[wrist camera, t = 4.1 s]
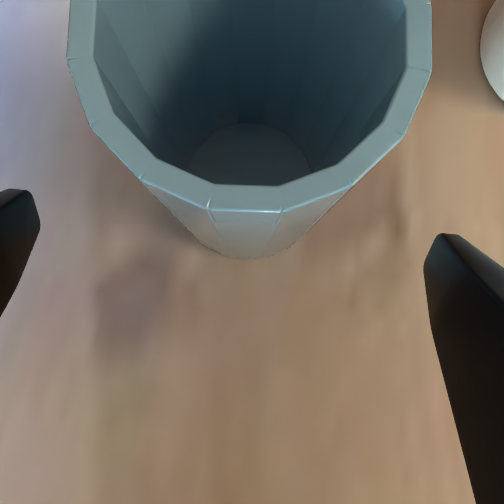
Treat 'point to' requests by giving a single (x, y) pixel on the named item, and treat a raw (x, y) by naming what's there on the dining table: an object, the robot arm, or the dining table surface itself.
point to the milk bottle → (494, 47)
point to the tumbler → (250, 103)
